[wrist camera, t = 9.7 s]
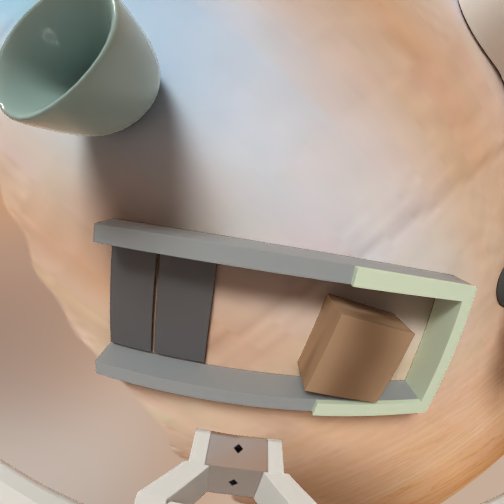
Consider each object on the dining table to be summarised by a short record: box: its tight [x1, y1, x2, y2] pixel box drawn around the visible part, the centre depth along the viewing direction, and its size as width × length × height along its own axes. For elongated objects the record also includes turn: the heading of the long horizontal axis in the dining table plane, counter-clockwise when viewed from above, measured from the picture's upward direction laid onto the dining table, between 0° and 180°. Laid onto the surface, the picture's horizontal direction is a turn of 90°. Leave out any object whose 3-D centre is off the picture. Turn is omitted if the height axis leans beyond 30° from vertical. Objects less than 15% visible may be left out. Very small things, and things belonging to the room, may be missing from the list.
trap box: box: [93, 219, 477, 416], centre depth 20 cm, size 27×11×4 cm, turn 81°
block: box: [298, 294, 415, 402], centre depth 21 cm, size 6×6×4 cm
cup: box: [0, 0, 160, 136], centre depth 14 cm, size 8×8×10 cm
